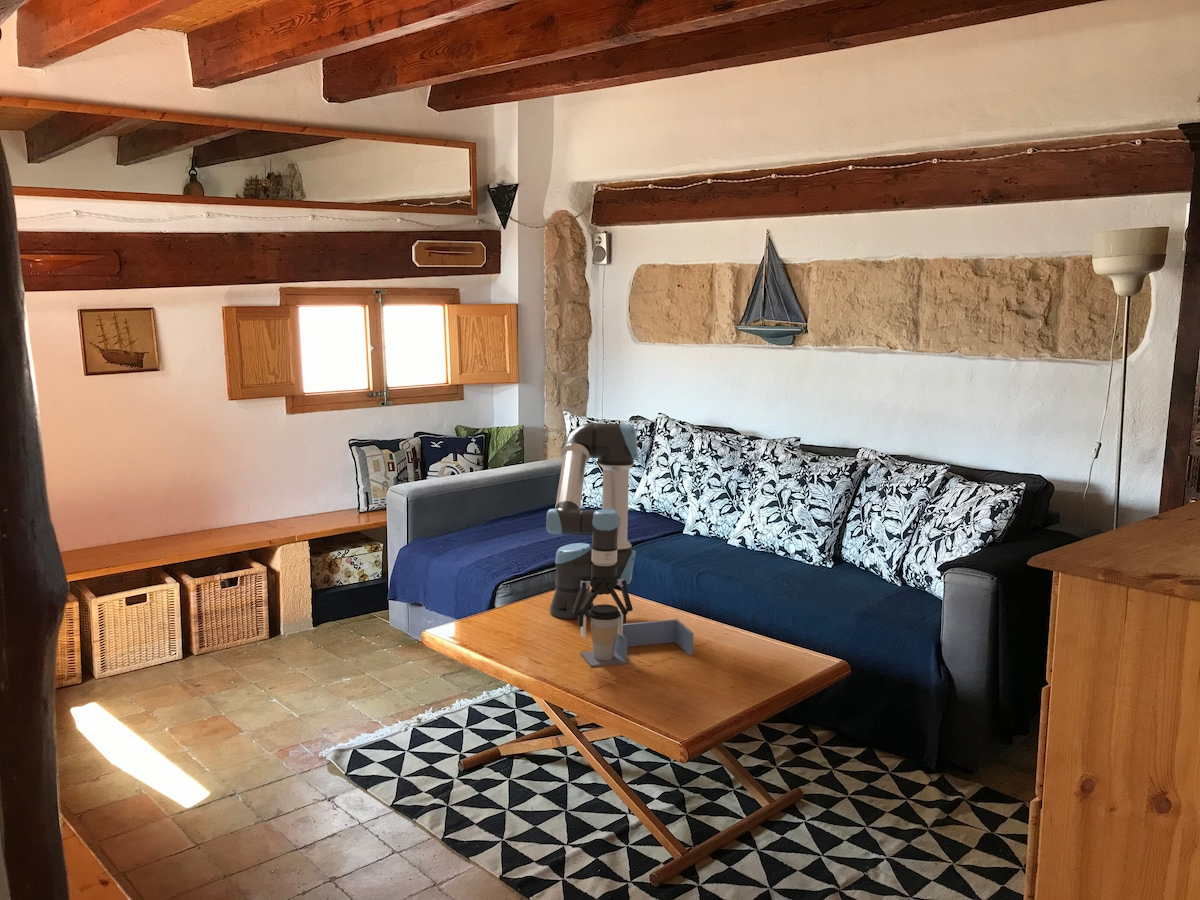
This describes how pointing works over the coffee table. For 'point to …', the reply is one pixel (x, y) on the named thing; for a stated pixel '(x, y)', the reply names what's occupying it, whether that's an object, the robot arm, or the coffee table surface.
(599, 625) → the coffee cup
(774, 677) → the coffee table surface
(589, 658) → the coaster
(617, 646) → the grey u-shaped wall
